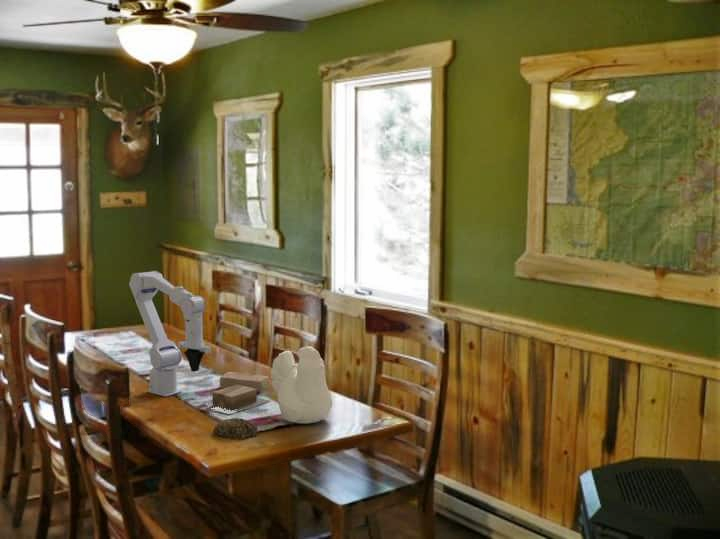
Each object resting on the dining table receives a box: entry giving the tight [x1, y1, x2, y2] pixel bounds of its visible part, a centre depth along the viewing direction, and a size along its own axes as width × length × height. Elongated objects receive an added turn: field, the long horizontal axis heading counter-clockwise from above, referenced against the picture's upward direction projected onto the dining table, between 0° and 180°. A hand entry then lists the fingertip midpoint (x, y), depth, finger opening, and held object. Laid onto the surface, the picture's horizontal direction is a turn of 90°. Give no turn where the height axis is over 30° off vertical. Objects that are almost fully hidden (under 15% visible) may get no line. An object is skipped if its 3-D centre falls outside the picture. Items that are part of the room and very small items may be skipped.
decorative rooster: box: [270, 345, 333, 424], centre depth 252 cm, size 25×16×25 cm, turn 33°
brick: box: [219, 371, 270, 393], centre depth 287 cm, size 17×8×5 cm, turn 77°
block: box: [211, 384, 258, 410], centre depth 266 cm, size 4×12×9 cm
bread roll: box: [212, 417, 259, 440], centre depth 238 cm, size 13×12×5 cm
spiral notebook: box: [206, 397, 271, 412], centre depth 265 cm, size 11×20×1 cm, turn 145°
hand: (194, 371), depth 268 cm, fingers closed
